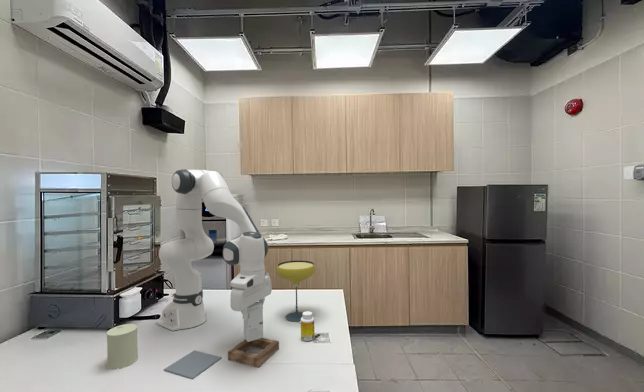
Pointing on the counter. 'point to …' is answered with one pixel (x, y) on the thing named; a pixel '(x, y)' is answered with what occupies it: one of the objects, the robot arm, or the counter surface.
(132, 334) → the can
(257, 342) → the walnut collar
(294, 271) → the cocktail glass
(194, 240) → the robot arm
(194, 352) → the slate mat
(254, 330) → the skincare box
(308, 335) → the supplement bottle
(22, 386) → the counter surface
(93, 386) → the counter surface
